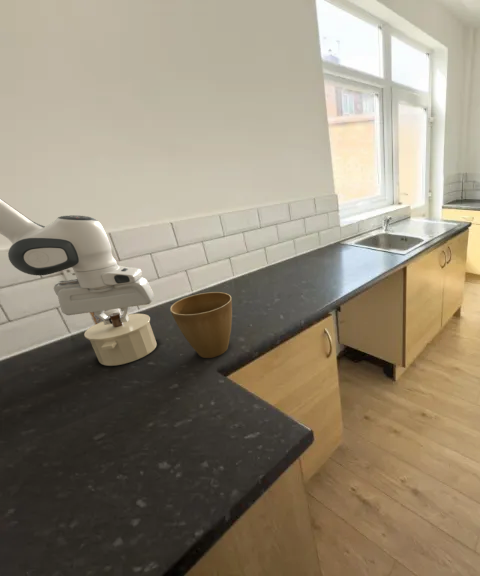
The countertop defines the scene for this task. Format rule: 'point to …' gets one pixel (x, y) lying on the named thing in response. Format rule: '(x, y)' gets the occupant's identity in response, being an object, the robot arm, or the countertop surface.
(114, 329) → the lid
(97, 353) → the pot
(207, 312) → the plant pot
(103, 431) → the countertop surface
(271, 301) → the countertop surface
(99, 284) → the robot arm
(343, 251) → the countertop surface
